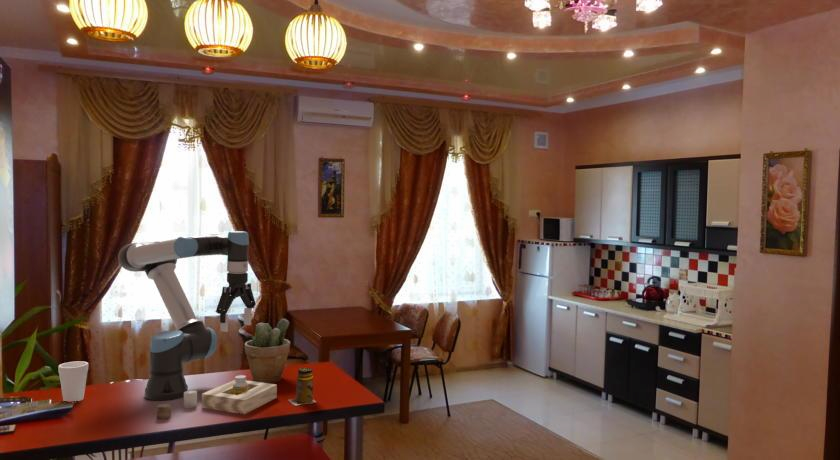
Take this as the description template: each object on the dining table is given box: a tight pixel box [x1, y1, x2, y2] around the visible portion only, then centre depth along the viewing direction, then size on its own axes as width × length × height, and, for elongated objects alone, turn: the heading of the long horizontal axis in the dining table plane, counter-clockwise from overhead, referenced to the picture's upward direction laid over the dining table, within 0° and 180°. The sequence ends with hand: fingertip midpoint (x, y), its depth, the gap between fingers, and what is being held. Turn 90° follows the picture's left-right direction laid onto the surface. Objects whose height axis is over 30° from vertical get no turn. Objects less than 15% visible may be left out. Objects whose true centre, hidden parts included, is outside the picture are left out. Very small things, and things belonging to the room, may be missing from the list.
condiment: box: [288, 367, 317, 406], centre depth 224 cm, size 7×8×12 cm
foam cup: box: [57, 360, 89, 403], centre depth 221 cm, size 10×9×13 cm
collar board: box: [201, 379, 278, 415], centre depth 222 cm, size 18×20×5 cm
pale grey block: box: [183, 389, 198, 409], centre depth 217 cm, size 4×4×5 cm
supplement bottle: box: [233, 374, 248, 395], centre depth 222 cm, size 5×5×10 cm
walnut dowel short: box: [156, 403, 172, 420], centre depth 205 cm, size 4×4×4 cm
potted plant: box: [244, 318, 291, 384], centre depth 251 cm, size 18×19×25 cm
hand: (236, 328), depth 229 cm, fingers open, 13 cm apart
